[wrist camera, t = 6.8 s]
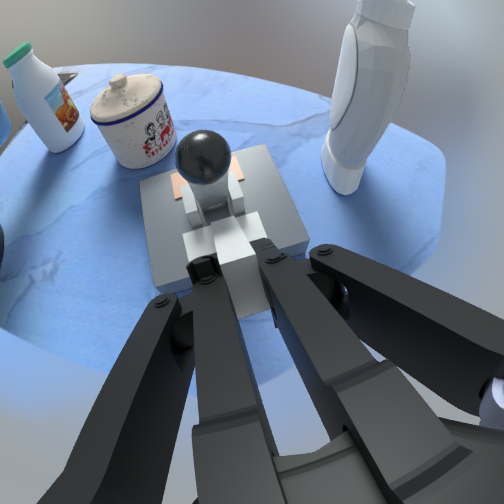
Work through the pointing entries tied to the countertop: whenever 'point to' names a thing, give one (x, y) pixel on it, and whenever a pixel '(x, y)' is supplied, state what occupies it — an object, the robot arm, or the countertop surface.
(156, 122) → the teacup with lid
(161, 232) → the switch base
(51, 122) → the milk bottle
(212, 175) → the lever
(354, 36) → the soap bottle
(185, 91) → the countertop surface
